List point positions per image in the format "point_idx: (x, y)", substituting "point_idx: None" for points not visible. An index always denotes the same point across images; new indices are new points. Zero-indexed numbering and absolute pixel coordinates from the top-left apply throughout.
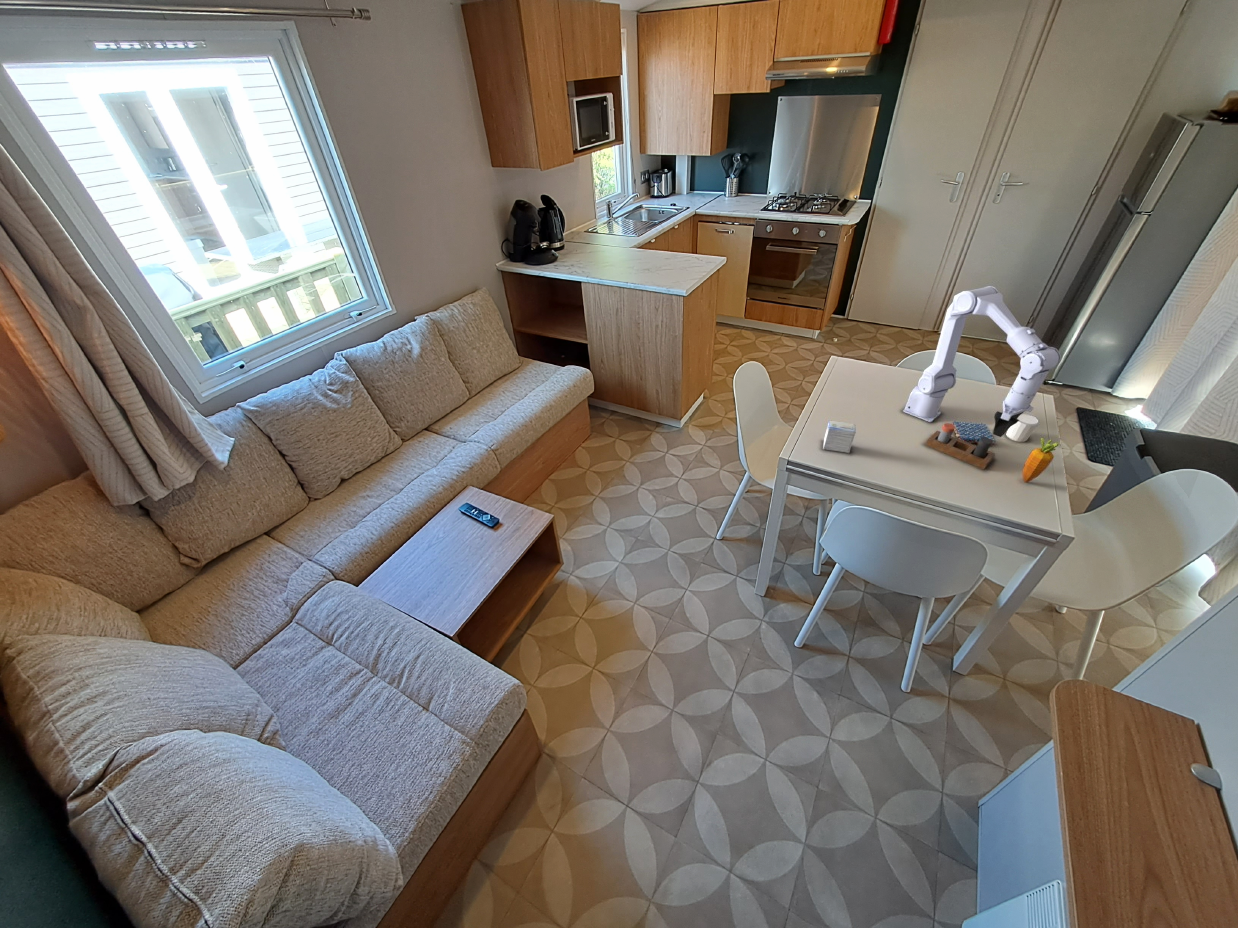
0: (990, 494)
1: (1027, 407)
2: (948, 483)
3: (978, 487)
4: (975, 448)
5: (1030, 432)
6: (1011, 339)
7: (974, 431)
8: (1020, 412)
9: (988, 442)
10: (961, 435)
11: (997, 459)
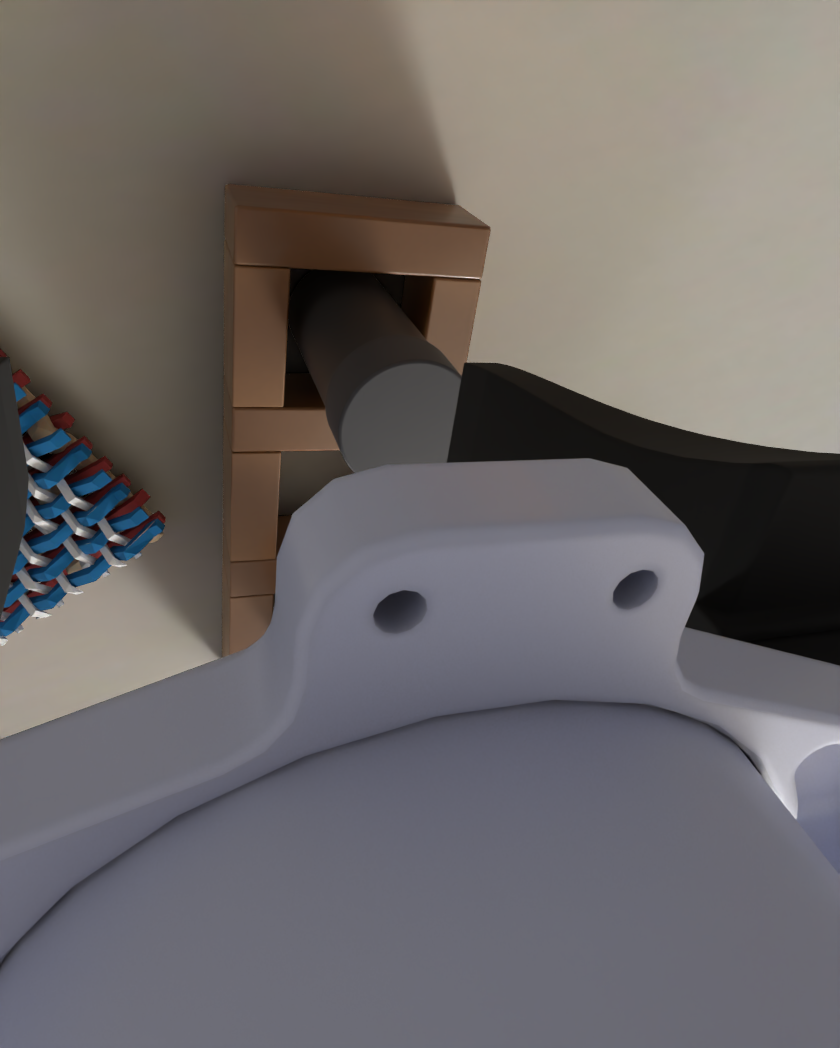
0: (807, 44)
1: (615, 739)
2: (769, 364)
3: (743, 166)
4: (284, 402)
5: None
6: None
7: None
8: (822, 669)
9: (444, 397)
10: (106, 565)
11: (167, 133)
